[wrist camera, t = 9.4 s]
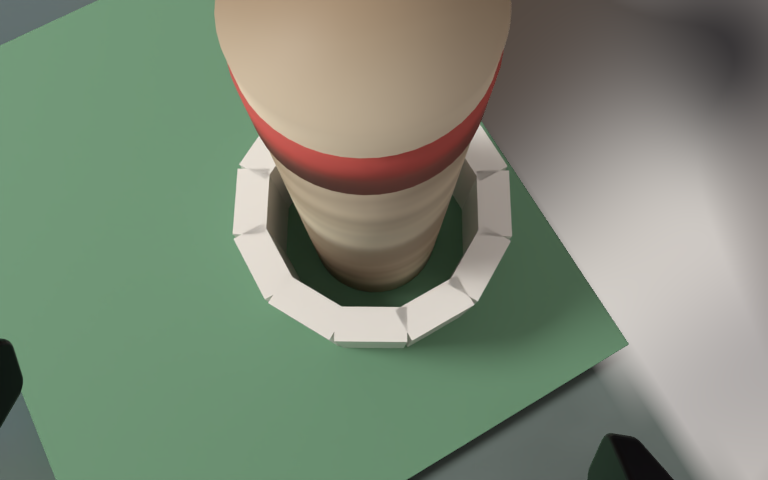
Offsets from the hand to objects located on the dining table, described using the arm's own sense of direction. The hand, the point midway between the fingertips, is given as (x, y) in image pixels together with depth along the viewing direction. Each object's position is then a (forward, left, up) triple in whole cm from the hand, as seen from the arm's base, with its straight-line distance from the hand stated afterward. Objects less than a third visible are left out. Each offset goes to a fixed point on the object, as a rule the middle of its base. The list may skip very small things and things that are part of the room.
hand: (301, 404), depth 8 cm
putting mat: (+8, 0, -11) cm, 14 cm away
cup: (+4, -4, -11) cm, 12 cm away
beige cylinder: (+4, -3, -11) cm, 12 cm away
